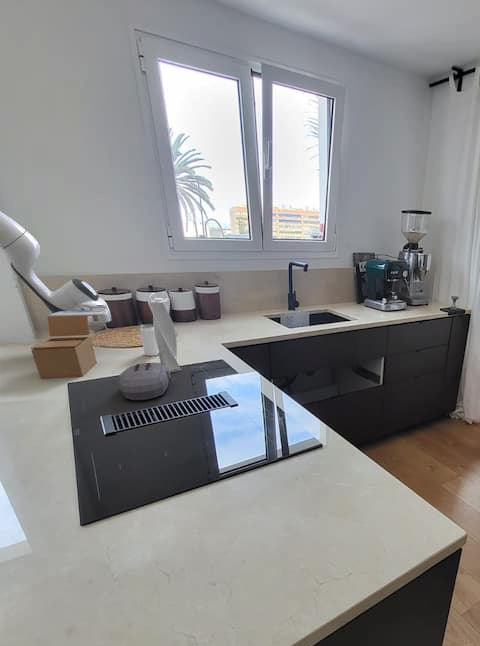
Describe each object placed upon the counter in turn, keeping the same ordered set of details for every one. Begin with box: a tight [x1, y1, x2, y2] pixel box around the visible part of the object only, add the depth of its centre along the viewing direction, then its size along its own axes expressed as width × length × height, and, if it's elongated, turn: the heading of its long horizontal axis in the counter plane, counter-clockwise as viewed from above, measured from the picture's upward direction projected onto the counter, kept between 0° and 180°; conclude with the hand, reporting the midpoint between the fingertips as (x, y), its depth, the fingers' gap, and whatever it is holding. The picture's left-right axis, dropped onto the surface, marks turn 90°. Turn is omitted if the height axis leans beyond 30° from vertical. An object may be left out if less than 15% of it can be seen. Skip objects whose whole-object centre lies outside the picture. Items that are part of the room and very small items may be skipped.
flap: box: [46, 315, 91, 337], centre depth 147 cm, size 7×13×1 cm
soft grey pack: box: [118, 362, 172, 401], centre depth 128 cm, size 15×8×20 cm
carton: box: [30, 336, 98, 380], centre depth 142 cm, size 15×13×11 cm
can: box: [139, 323, 159, 357], centre depth 162 cm, size 6×6×12 cm
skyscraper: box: [147, 292, 183, 374], centre depth 143 cm, size 8×8×28 cm
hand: (74, 321), depth 151 cm, fingers open, 5 cm apart
